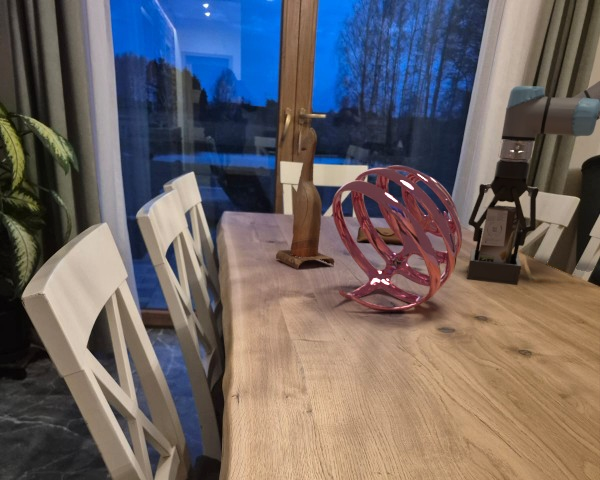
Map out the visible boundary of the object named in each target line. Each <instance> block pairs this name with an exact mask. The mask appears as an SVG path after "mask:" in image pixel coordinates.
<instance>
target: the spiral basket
mask: <svg viewBox="0 0 600 480" xmlns="http://www.w3.org/2000/svg"><path fill="white" fill-rule="evenodd" d="M400 172H405V173H408V174H406V175H404V174H402V173H400ZM371 175H375V176H377V177H376V180H375V183H371V182H368V181H366V179H367V177H368V176H371ZM389 181H392V182H394V183H395V184H396V185H398V186H399V187H401V196H402V200H403V202H404V204H405V205H403V203H402V202H400V201H399V200H398V199H397V198H396V197H395V196H393V195H392V194H391V193H389ZM420 181H421V182H422V183H424V184H425V185H426V186H428V188H429V189H431V190H432V192H433V193H434V194H435V195H436V196H437V197H438V198H439V200H440V201H441V203H442V204H443V205H444V207H445V209H446V210H447V211H443V213H442V211H441V209H440V208H439V207H438V206H437V204H436V203H435V201H433V199H432V198H431V197H430V196H429V195H428V194H427V193H426V191H424V190H423V189H422V188H421V187H420V186H419V185H418V184H417V183H418V182H420ZM344 192H351V193H350V194H351V203H352V208H353V212H354V215H355V218H356V219H357V220H356V221H357V222H358V225H359V227H361V229H362V230H363V232H364V234H365V236H366V237H367V239H368V240H369V242H368V243H370V245H371V246H372V248H373V249H374V250H375V252H376V253H377V254H378V255H379V256H380V257H381V258H382V259H383V260H384V262H385V266H384V268H382V269H377V268H376V267H375V266H374V265H373V264H372V263H371V262H370V261H369V259H368V258H367V257H366V255H364V253H363V251H362V250H361V249H360V247H359V246H358V245H357V243H356V241H355V239H354V238H353V236H352V234H351V232H350V230H349V228H348V226H347V225H348V224H347V223H346V220H345V217H344V213H343V207H342V196H343V194H344ZM364 196H367V197H368V198H370V199H372V200H373V201H375V202H376V203H377V204H378V207H379V210H380V212H381V214H382V216H383V218H384V220H385V222H386V224H387V225H388V228H391V229H392V231H393V232H394V233H395V235H396V236H397V237H398V238H399V239H400V241H401V242H402V243H403V245H402V249H401V250H400V251H399V252H394V251H393V250H392V249H391V248H390V246H388V244H386V243H385V242H384V241H383V240H382V238H381V237H380V235H379V234H378V232H377V231H376V229H375V228H374V227H375V225H374V224H373V221H372V220H371V217H370V216H369V214H368V211H367V207H366V204H365V200H364ZM418 203H419V204H420V205H421V207H422V208H423V209H424V210H425V212H426V213H427V214H425V212H424V211H423V210H422V209H421V208H420V205H419V204H418ZM331 204H332V205H331V206H332V207H331V209H332V210H331V211H332V218H333V222H334V225H335V228H336V231H337V233H338V235H339V237H340V240H341V242H342V244H343V245H344V247H345V248H346V251H347V252H348V253H349V255H350V256H351V257H352V259H353V260H354V262H355V263H356V264H357V265H358V267H359V268H360V269H361V270H362V272H363V273H365V275H366V276H367V278H368V280H367V282H366V283H364V284H363V285H362V286H360V287H358V288H356V289H354V290H352V291H348V292H345V291H344V290H343V289H340V290H338V293H339V295H340V296H341V297H343V298H345V299H351V300H352V301H354V302H355V303H357V304H359V305H360V306H363V307H365V308H367V309H369V310H374V311H378V312H385V313H397V312H404V311H407V310H411V309H414V308H416V307H418V306H420V305H422V304H424V303H425V302H428V301H429V300H430V299H431V298H433V297H434V296H435V295H436V294H437V292H439V291H440V290H441V288H442V287H443V286H444V285H445V284H446V282H447V281H449V279H450V278H451V276H452V275H453V273H454V270H455V268H456V265H457V257H458V255H459V253H460V252H461V248H462V243H463V232H462V231H463V230H462V225H461V221H460V218H459V213H458V209H457V206H456V203H455V202H454V200H453V198H452V196H451V194H450V193H449V192H448V191H447V189H446V188H445V187H444V186H443V185H442V184H441V183H440V182H439V181H438V180H437V179H435V178H434V177H431V176H430V175H427V174H426V173H424V172H421V171H420V170H418V169H416V168H413V167H410V166H406V165H400V164H399V165H397V164H396V165H389V166H386V167H372V168H369V169H366V170H364V171H362V172H360V173H359V174H358V175H357V176H356V177H355V179H354V180H351V181H348V182H346V183H344V184H343V185H342V186H341V187H340V188H338V190H337V191H336V192H335V194H334V196H333V199H332V203H331ZM447 212H448V213H447ZM427 233H429V234H431V235H433V236H434V237H439V238H442V241H443V243H444V246H445V249H446V251H445V250H444V251H442V250H437V249H435V247H434V245H433V243H432V242H431V240H430V238H429V237H428V235H427ZM413 255H416V256H418V257H420V258H422V259H423V261H424V264H425V267H426V270H427V274H426V273H424V272H421V271H420V270H417V269H415V268H414V267H412V266H411V265H409V263H408V260H409V258H410V257H411V256H413ZM441 264H442V265H445V267H444V269H443V271H442V272H441V266H440V265H441ZM395 275H401V276H402V277H404V278H406V279H407V280H409V281H411V282H412V283H415V284H418V285H420V286H424V287H428V292H427V293H426V294H423V295H419V294H415V293H411V292H409V291H406V290H405V289H403V288H401V287H399V286H397V285H396V284H394V283H393V282H392V280H391V279H392V278H393V277H394V276H395ZM376 290H381V291H384V292H386V293H387V294H388V295H391V296H392V297H393V298H396V299H397V300H400V301H403V302H404V303H409V304H403V305H400V306H383V305H379V304H373V303H370V302H368V301H366V300H363V299H362V298H363V297H364V296H366V295H369V294H371V293H372V292H374V291H376Z"/></svg>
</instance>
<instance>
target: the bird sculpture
mask: <svg viewBox="0 0 600 480" xmlns="http://www.w3.org/2000/svg"><path fill="white" fill-rule="evenodd" d="M317 144H318V136H317V133H316V130H315V129H314V128H313V127H310V128H309V129H308V131H307V134H306V136H305V137H304V138H303V140H302V141H301V146H300V151H303V152H304V151H306V152H305V156H304V157H303V162H302V165H301V170H300V175H299V179H298V183H297V189H296V193H295V200H294V210H293V211H294V212H293V221H292V222H293V223H292V240H291V244H290V249H283V250H282V249H281V250H278V251H277V253H276V254H275V259H276V260H278V261H280V262H282V263H284V264H287V265H289V266H291V267H293V268H294V269H296V270H298V269H299V267H300V266H301V265H302V264H303V263H304V262H305V261H315V260H319V261H321V262H324V263H326V264H328V265H331V266H333V267H335V259H334V258H332V257H330V256H327V255H326V254H323V253H321V252H319V246H320V244H319V243H320V236H321V234H320V233H321V224H322V211H323V210H322V209H323V208H322V207H323V204H322V199H321V195H320V193H319V191H318V188H317V187H316V185H315V184H314V163H315V156H316V155H315V154H316V147H317Z"/></svg>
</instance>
